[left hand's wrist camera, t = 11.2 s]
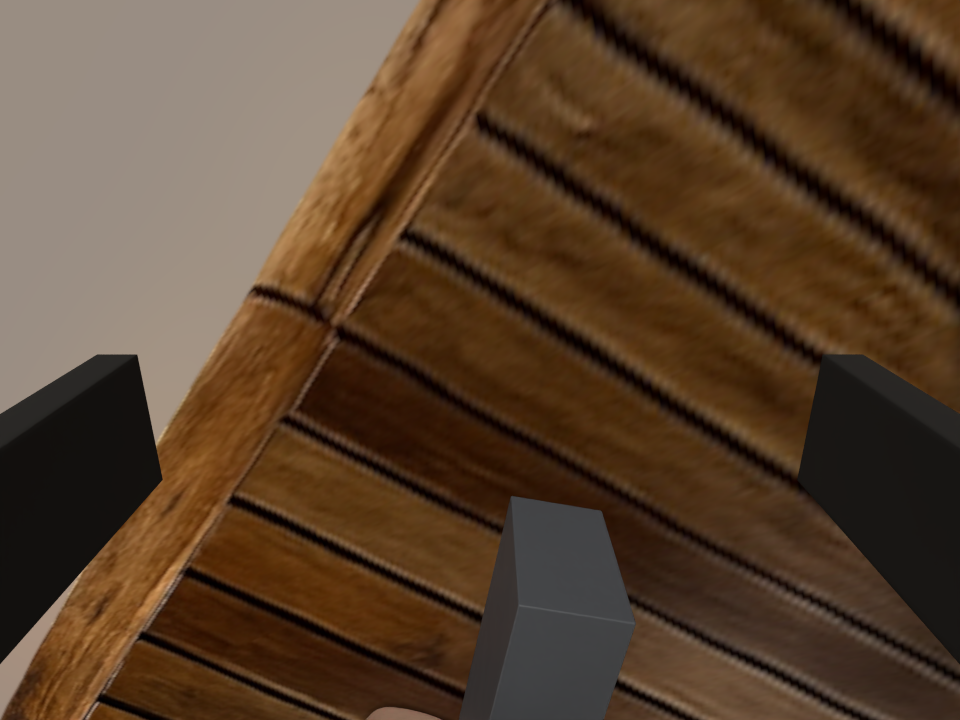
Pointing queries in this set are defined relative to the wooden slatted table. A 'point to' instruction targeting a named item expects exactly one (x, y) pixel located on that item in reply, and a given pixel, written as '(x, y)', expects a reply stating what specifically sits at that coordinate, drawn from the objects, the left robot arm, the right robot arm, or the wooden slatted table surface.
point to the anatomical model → (399, 714)
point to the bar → (550, 619)
